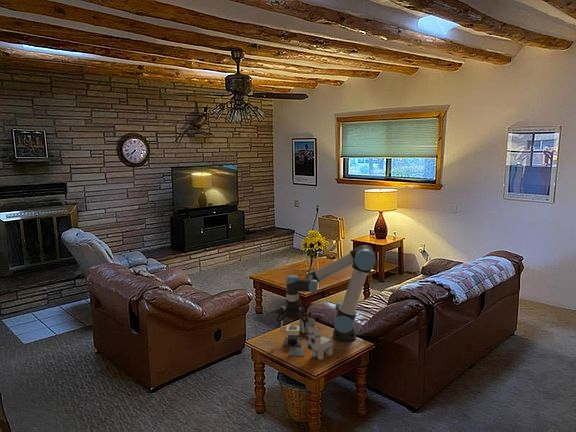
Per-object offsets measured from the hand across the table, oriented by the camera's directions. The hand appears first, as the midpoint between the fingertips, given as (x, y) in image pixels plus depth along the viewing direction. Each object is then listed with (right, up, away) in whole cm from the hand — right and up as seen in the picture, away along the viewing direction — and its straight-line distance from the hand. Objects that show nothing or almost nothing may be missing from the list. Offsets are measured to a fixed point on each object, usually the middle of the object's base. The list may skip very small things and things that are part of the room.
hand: (292, 331), depth 270 cm
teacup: (+10, -5, +19) cm, 22 cm away
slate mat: (+2, -9, -11) cm, 15 cm away
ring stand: (0, -7, +1) cm, 8 cm away
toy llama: (+17, -10, -17) cm, 26 cm away
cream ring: (0, -1, 0) cm, 1 cm away
